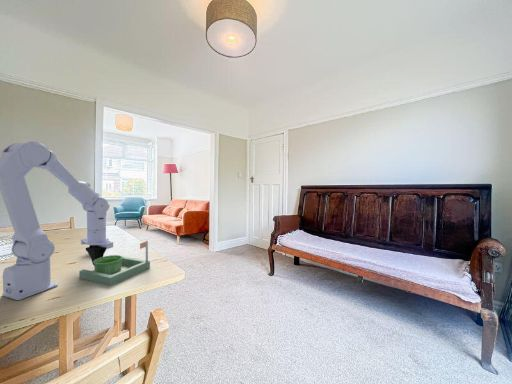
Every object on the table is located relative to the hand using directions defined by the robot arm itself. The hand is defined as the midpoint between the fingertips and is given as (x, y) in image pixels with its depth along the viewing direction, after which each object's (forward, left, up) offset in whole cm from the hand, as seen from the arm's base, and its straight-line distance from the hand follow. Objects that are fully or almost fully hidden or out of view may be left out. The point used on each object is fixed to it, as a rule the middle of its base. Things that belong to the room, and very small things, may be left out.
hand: (97, 264), depth 83 cm
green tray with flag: (0, -10, -1) cm, 10 cm away
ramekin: (0, -6, -2) cm, 6 cm away
